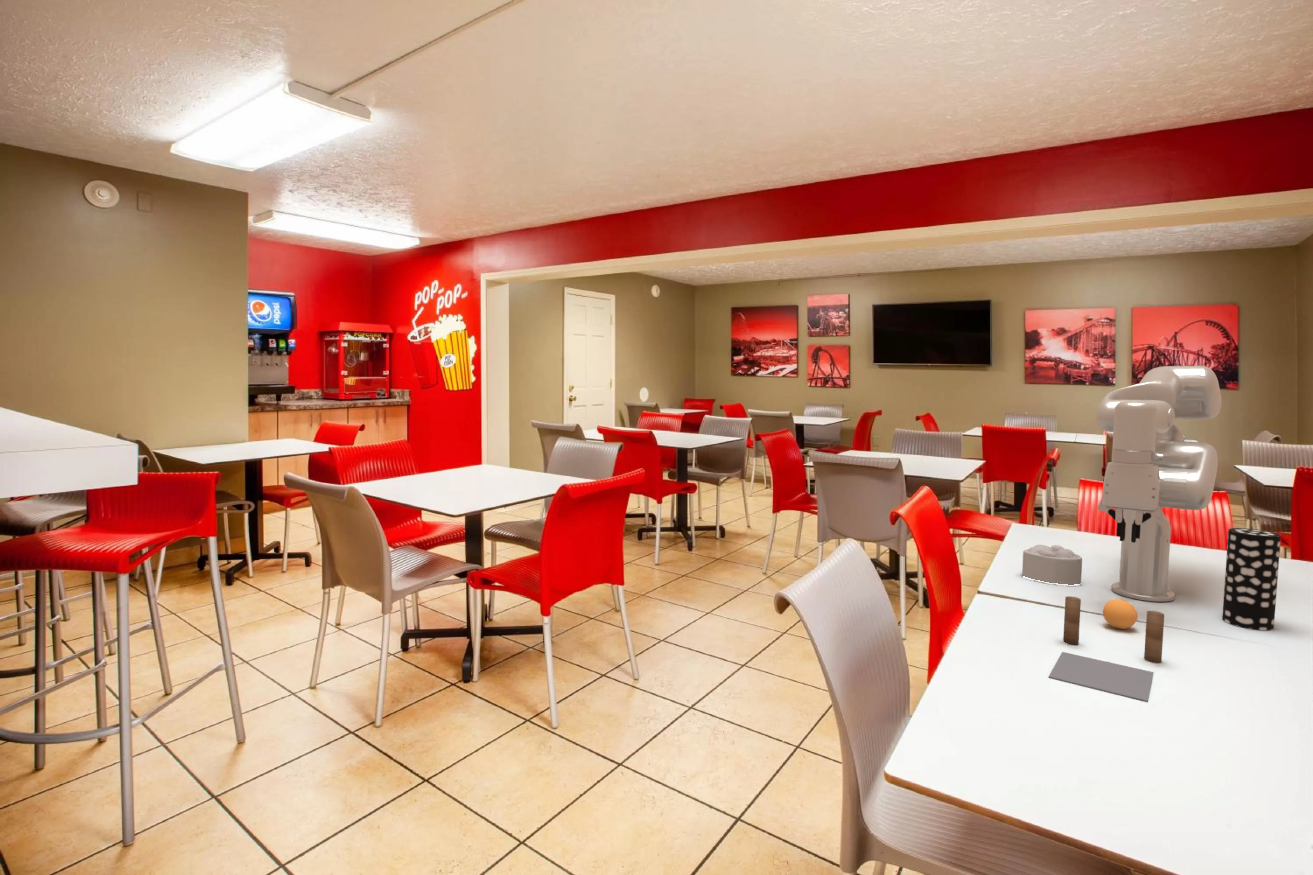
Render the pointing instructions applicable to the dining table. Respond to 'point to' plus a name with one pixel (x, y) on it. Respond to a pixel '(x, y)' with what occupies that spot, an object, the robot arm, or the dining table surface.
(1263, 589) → the white-spotted black cylinder
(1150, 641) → the post
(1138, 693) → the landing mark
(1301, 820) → the dining table surface
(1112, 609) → the ball
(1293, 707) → the dining table surface
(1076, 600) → the post
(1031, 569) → the lumpy-topped squat cylinder
